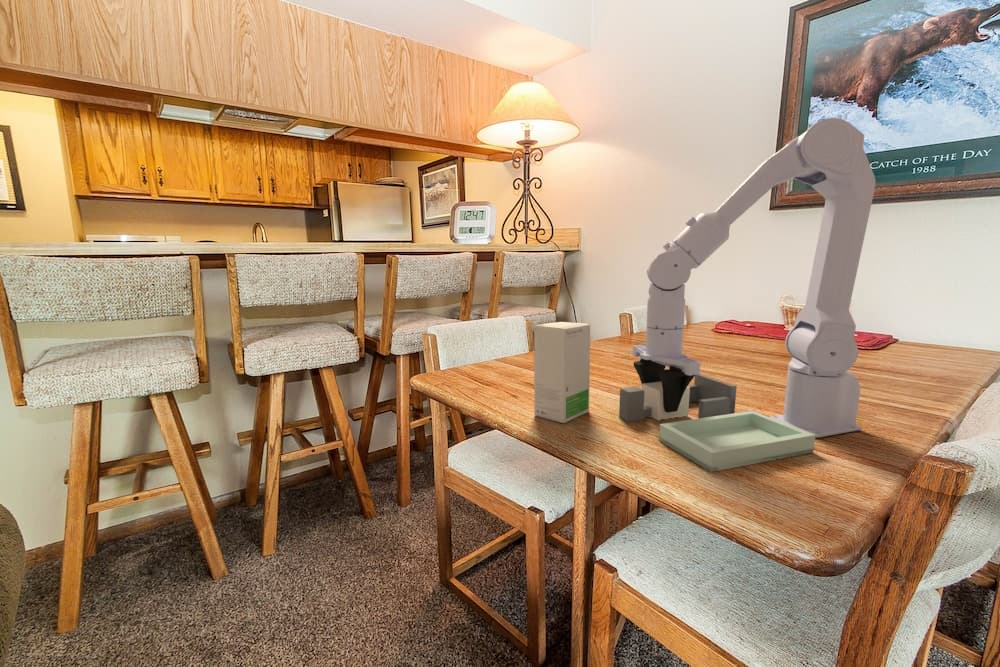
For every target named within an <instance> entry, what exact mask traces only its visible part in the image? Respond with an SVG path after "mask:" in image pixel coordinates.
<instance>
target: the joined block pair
mask: <svg viewBox="0 0 1000 667" xmlns="http://www.w3.org/2000/svg"><path fill="white" fill-rule="evenodd" d="M689 394H690V387H688V386H687V388H686V390H685V392H684V394H683V396H682V399H681V402H680V404H679V407H678V410H677V411H675V412H665V410H664V405H663V388H662V383H661V382H652V383H643V384H641V388H640V387H638V386H637V385H636V386H629V387H620V388H619V406H618V407H619V408H618V410H619V412H618V417H619V418H620V419H622V420H623V421H625V422H626V423H628V422H629V423H630V421H631V422H636V421H637V420H638V421H644V419H647V418H646V417H648V418H652V417H653V419H654V418H655V419H654V420H656V419H657V421H662V420H661V419H665V420H669V419H668V418H672V419H675V418H674V417H679V418H684V417H683V416H686V417H689V407H690V403H689Z"/></svg>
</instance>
